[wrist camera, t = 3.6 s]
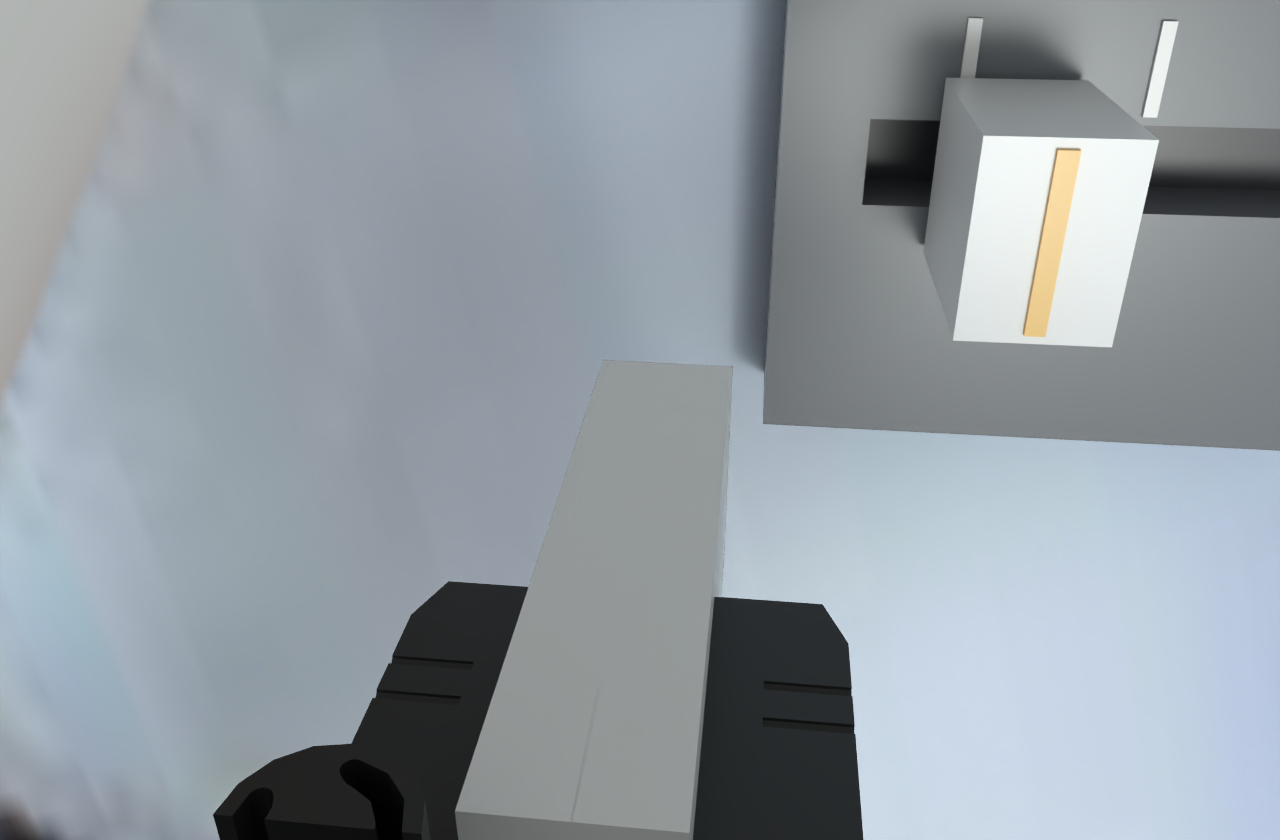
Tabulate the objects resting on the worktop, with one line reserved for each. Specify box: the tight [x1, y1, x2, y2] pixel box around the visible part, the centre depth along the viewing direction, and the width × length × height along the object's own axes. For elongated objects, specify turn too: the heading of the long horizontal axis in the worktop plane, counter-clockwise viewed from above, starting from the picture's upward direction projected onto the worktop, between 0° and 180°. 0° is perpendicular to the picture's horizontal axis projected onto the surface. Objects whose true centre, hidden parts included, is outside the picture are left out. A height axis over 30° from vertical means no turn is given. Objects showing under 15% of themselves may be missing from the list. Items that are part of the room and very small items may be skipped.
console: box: [763, 0, 1280, 451], centre depth 25 cm, size 22×14×4 cm, turn 90°
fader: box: [923, 78, 1159, 347], centre depth 23 cm, size 3×4×7 cm
